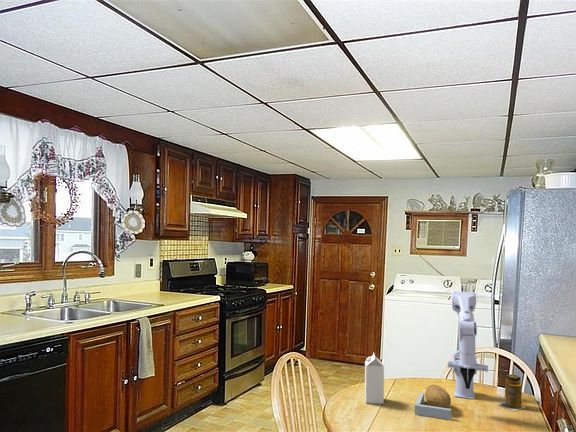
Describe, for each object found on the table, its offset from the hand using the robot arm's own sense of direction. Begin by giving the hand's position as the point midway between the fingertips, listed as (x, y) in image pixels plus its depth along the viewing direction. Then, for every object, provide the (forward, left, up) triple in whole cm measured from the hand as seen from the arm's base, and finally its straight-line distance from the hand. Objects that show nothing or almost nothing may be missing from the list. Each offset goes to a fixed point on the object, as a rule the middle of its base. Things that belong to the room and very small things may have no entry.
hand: (467, 388), depth 180 cm
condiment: (-15, +16, -10) cm, 24 cm away
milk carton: (+2, -36, -10) cm, 37 cm away
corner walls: (+3, -12, -10) cm, 16 cm away
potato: (0, -11, -10) cm, 15 cm away
